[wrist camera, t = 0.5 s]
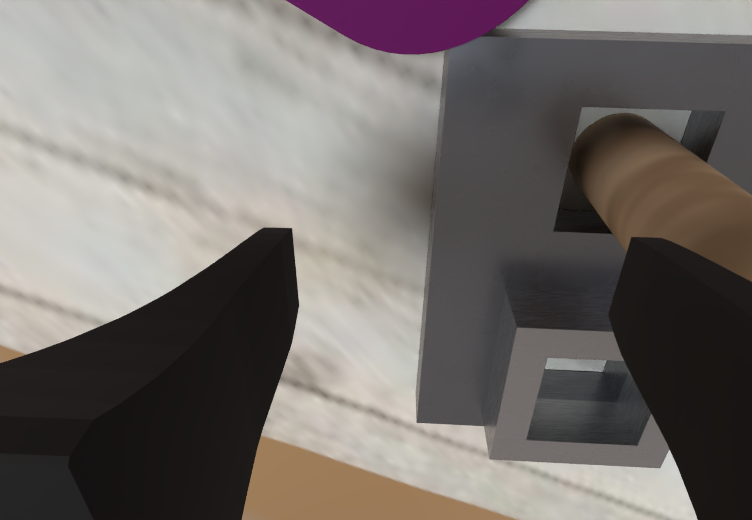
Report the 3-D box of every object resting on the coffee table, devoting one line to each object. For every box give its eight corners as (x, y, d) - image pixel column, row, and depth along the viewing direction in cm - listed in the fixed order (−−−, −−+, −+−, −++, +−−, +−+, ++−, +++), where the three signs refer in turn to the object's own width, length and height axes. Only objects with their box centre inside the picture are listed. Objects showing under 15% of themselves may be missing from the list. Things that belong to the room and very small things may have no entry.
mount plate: (853, 38, 18) (978, 64, 14) (681, 405, 27) (727, 481, 23) (446, 27, 18) (458, 48, 14) (415, 393, 28) (417, 465, 24)
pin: (671, 114, 19) (846, 225, 12) (644, 197, 21) (781, 340, 13) (579, 111, 19) (695, 219, 12) (561, 194, 21) (650, 335, 14)
